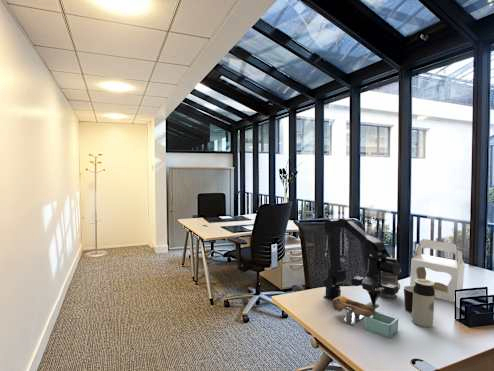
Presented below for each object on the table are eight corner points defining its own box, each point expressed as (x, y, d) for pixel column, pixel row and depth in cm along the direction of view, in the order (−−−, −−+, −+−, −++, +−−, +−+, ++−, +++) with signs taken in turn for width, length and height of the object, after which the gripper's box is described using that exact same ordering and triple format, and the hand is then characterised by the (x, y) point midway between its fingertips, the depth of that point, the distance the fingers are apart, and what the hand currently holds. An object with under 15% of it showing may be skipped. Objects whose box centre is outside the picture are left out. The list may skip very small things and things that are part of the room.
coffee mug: (412, 315, 145) (413, 293, 144) (398, 307, 153) (399, 286, 152) (433, 312, 148) (434, 291, 147) (418, 305, 156) (419, 284, 155)
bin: (364, 329, 131) (365, 317, 131) (373, 322, 137) (373, 310, 137) (389, 338, 124) (390, 325, 124) (397, 330, 130) (398, 318, 130)
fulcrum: (341, 321, 137) (342, 307, 136) (353, 313, 145) (353, 299, 144) (352, 326, 133) (353, 310, 133) (364, 317, 141) (364, 303, 141)
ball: (337, 304, 142) (336, 296, 142) (341, 302, 144) (340, 294, 145) (345, 305, 139) (344, 297, 140) (348, 303, 142) (347, 295, 142)
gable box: (463, 296, 169) (466, 243, 167) (456, 303, 159) (460, 247, 158) (417, 284, 185) (420, 236, 183) (409, 290, 175) (411, 239, 174)
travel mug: (407, 320, 140) (409, 279, 139) (421, 317, 143) (423, 277, 142) (423, 328, 132) (425, 285, 131) (437, 325, 135) (439, 283, 134)
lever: (332, 309, 142) (333, 299, 142) (348, 300, 153) (348, 290, 152) (368, 322, 131) (369, 311, 131) (382, 311, 142) (382, 301, 141)
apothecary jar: (376, 298, 163) (377, 263, 162) (372, 290, 174) (374, 257, 173) (402, 301, 160) (404, 265, 159) (397, 292, 171) (398, 259, 170)
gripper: (346, 268, 143) (345, 303, 143) (389, 278, 130) (388, 316, 130) (357, 263, 151) (356, 296, 151) (399, 272, 138) (398, 308, 138)
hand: (373, 304), depth 143 cm, fingers closed, pressing on lever
